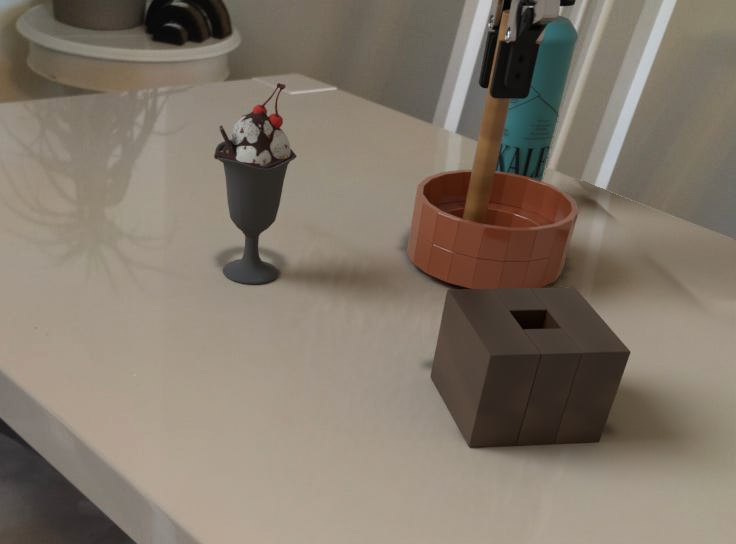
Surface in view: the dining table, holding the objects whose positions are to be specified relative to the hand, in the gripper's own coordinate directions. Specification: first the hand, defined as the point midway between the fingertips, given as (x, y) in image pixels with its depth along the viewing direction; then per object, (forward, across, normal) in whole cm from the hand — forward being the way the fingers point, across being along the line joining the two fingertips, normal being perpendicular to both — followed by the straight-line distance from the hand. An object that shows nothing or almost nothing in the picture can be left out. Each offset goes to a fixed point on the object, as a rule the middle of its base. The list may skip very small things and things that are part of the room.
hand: (502, 90), depth 80 cm
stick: (+12, 0, 0) cm, 12 cm away
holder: (+15, -25, +5) cm, 29 cm away
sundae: (+15, -1, +20) cm, 25 cm away
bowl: (+15, 0, -2) cm, 15 cm away
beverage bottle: (+15, +16, -10) cm, 24 cm away
